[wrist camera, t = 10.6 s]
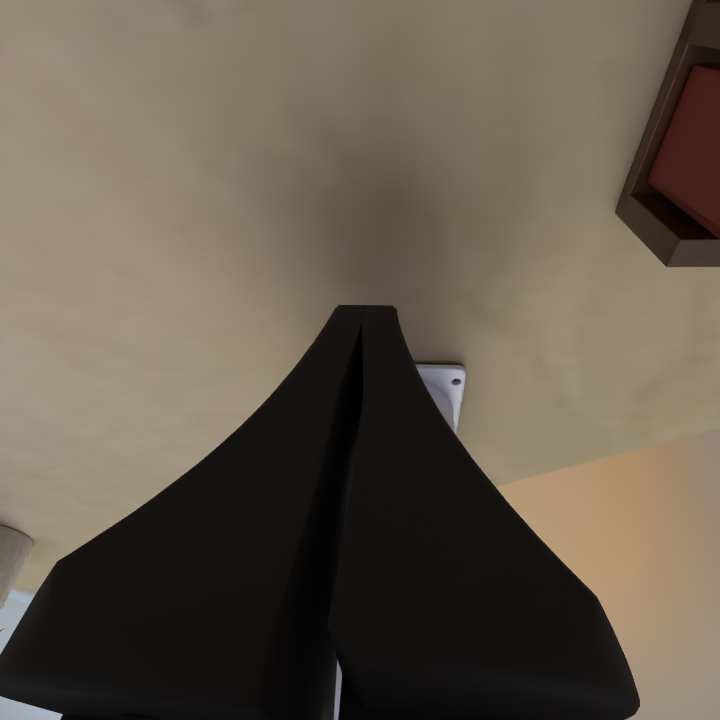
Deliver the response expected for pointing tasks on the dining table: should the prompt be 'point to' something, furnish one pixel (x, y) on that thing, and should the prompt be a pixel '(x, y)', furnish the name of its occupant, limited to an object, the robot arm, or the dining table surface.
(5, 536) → the house plant
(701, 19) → the book rack
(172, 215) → the dining table surface
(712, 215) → the oxblood book
